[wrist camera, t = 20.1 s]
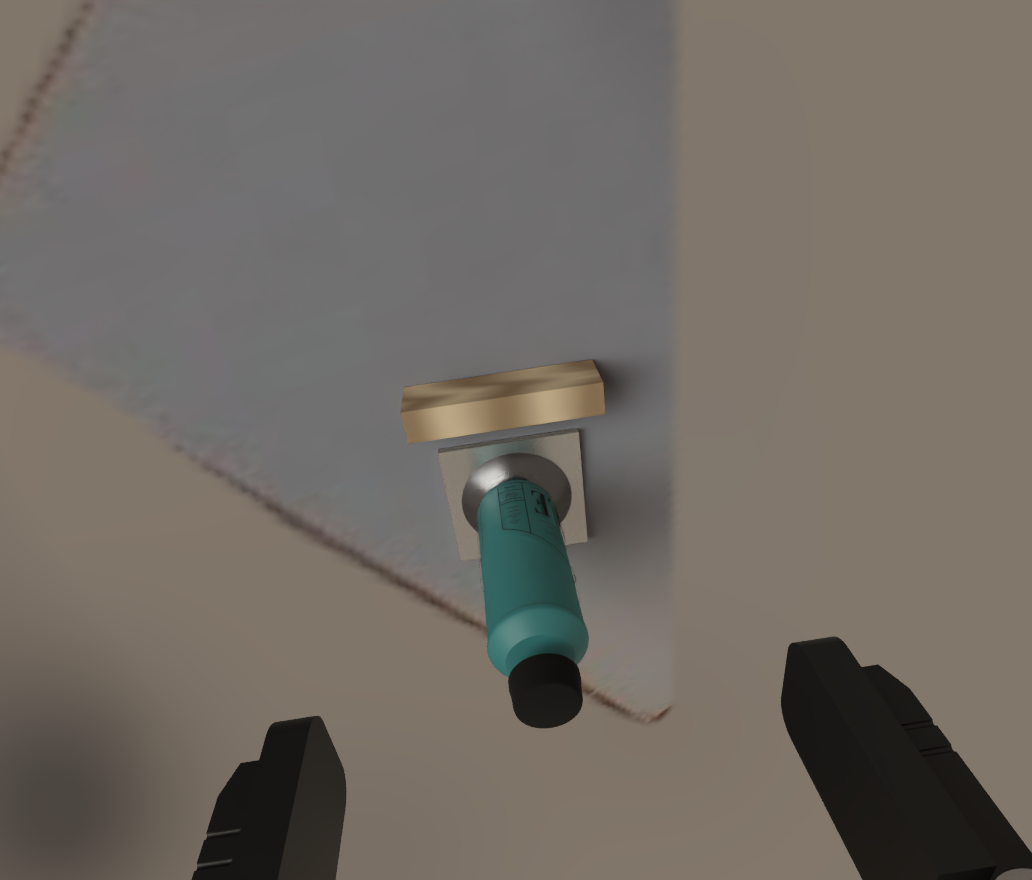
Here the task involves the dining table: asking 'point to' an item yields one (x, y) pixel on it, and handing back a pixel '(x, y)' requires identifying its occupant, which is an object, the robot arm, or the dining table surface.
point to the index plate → (518, 458)
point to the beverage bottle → (531, 603)
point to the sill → (502, 401)
